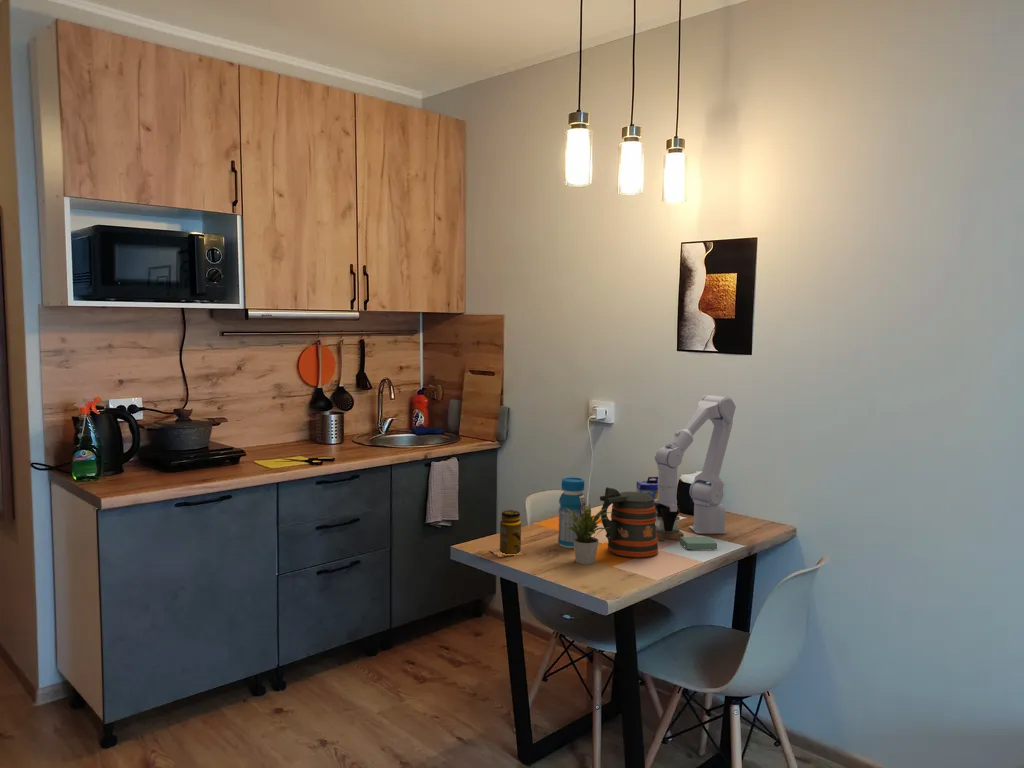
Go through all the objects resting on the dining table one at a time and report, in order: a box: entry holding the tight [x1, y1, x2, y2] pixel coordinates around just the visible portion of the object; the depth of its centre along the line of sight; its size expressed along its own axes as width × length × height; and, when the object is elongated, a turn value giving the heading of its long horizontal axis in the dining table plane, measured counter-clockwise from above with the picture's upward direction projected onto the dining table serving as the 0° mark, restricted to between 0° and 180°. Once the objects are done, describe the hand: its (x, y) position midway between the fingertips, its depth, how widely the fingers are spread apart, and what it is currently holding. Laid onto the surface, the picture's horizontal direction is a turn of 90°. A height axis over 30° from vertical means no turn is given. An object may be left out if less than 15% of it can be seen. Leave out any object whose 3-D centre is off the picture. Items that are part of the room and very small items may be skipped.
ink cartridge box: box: [635, 476, 659, 514], centre depth 258 cm, size 10×6×14 cm, turn 96°
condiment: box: [499, 509, 522, 554], centre depth 214 cm, size 7×8×12 cm
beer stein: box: [599, 487, 659, 559], centre depth 216 cm, size 19×15×20 cm
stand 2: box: [679, 536, 718, 550], centre depth 224 cm, size 9×7×2 cm
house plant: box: [566, 504, 614, 566], centre depth 206 cm, size 14×14×16 cm
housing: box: [655, 514, 681, 533], centre depth 233 cm, size 7×4×5 cm, turn 95°
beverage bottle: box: [557, 476, 587, 549], centre depth 223 cm, size 8×8×20 cm
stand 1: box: [656, 529, 685, 541], centre depth 233 cm, size 9×7×2 cm
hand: (666, 528), depth 233 cm, fingers closed on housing, 4 cm apart
